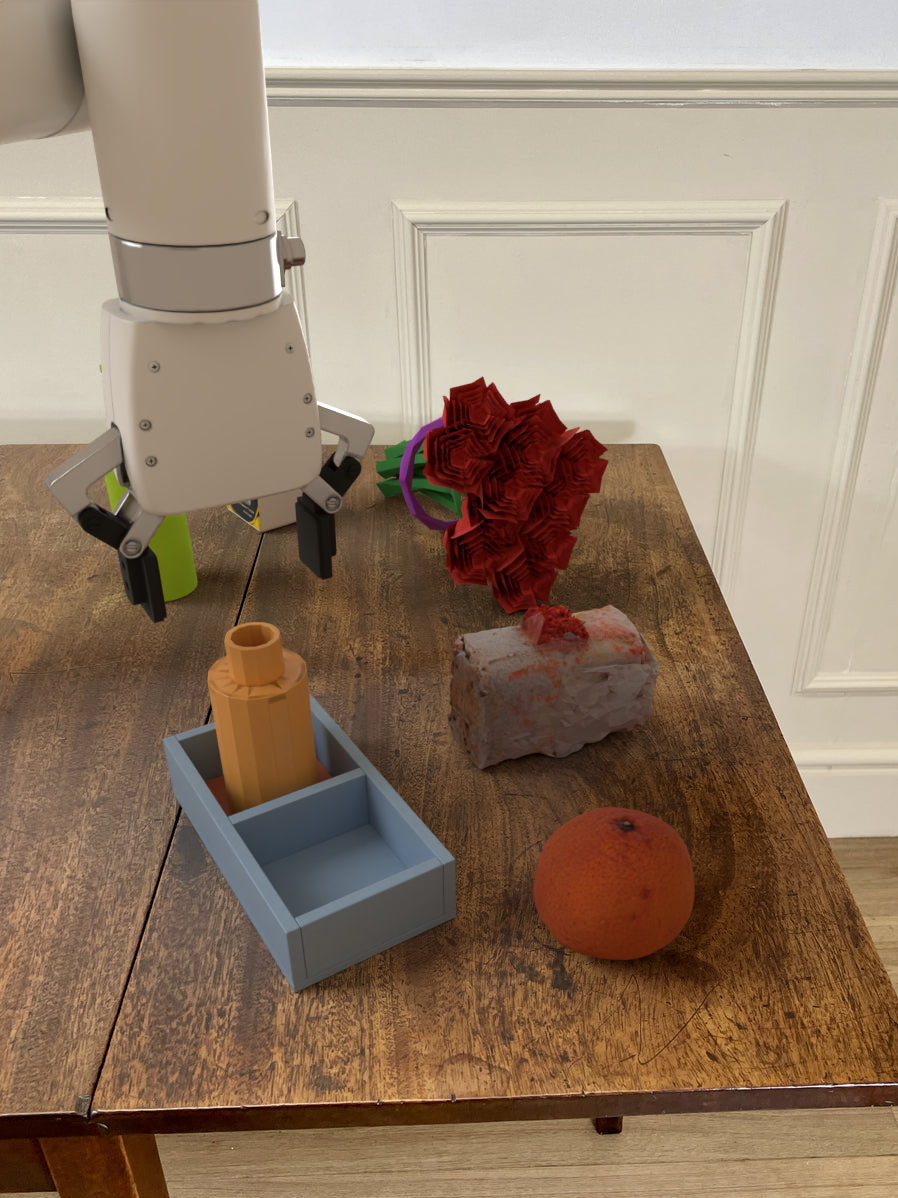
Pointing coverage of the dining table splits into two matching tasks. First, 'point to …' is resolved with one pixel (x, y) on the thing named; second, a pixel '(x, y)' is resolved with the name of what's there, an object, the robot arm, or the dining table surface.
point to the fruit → (614, 884)
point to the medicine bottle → (268, 510)
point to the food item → (549, 684)
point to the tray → (319, 855)
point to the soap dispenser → (166, 547)
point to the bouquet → (499, 488)
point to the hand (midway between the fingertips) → (237, 589)
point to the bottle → (262, 717)
